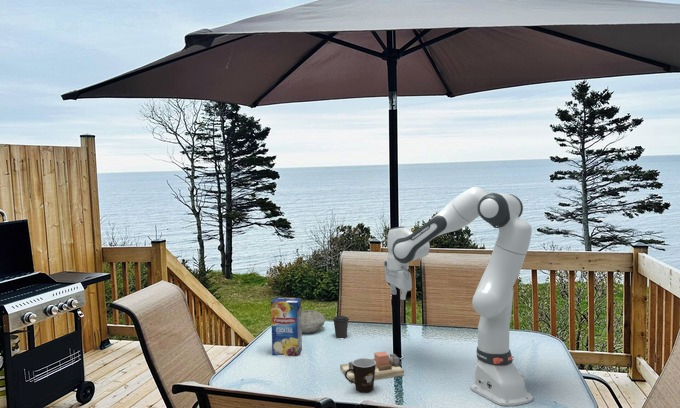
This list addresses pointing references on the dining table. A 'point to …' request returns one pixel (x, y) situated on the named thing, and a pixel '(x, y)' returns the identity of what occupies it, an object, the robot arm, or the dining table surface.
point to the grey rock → (311, 320)
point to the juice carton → (286, 326)
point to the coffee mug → (363, 374)
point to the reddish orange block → (381, 358)
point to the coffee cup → (341, 326)
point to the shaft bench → (378, 369)
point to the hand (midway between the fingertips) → (398, 296)
